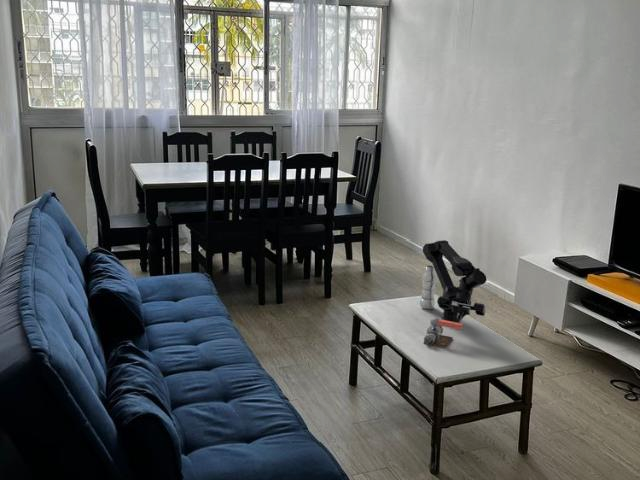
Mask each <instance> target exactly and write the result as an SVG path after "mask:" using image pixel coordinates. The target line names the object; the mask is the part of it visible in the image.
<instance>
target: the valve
mask: <svg viewBox="0 0 640 480" xmlns="http://www.w3.org/2000/svg"><path fill="white" fill-rule="evenodd" d="M443 332H444V328H443V326H439V325H438V326H433V325H430V326H429V327H428V328H427V330H426V335H425V336H424V338H423V344H424V345H426V346H427V345H428V346H432V347H437V348H443V349H447V347H448V346H449V345H450V343H451V342H452V340H453V336H449V335H443Z"/></svg>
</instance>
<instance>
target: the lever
mask: <svg viewBox="0 0 640 480" xmlns="http://www.w3.org/2000/svg"><path fill="white" fill-rule="evenodd" d="M432 325H433V326H438V325H439V326H441V327H442V328H443V327H444V328H450V329H455V330H459V331H462V330H463V323H461V322H460V323H456V322H451V321H446V320H442V318H441V319H440V318H439V317H436V316H433V317H432V316H431V318H430V326H432Z"/></svg>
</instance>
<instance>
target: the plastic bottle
mask: <svg viewBox="0 0 640 480" xmlns="http://www.w3.org/2000/svg"><path fill="white" fill-rule="evenodd" d="M421 278H422V279H421V282H422V292H421V298H420V303H419V304H420V305H419V306H420V307H421V309H426V310H432V309H433V308H434V307H435V304H436V302H435V289H436V283H437V279H438V276H437V274H436V272H435V269H434V266H433V265H429V264H428V265H426V266H425V272H424V273H423V275H422V277H421Z"/></svg>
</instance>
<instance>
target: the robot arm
mask: <svg viewBox="0 0 640 480" xmlns="http://www.w3.org/2000/svg"><path fill="white" fill-rule="evenodd" d="M422 253H423V255H424V256H425V258H426V260H428V261H429V262H430V263H431V264H432V266H434V272H435V274H436V277H437V279H438V280H439V283H440V285H441V288H442V296H439V297H438V298H437V300H436V302H437V305H438V307H439V308H440V309H441V310H443V314H442V315H443V316H441V320H446V321H451V322H456V323H461V321H462V320H463V318H464V317H465V316H469V315H470V314H471V311H474V312H475V314H476V316H477V315H478V316H484V317H485V315H486V306H485V304H483V303H479V302H474V304H472V295H473V291H474V289H476V288H479V287H480V286H482V285H484V284H486V282H487V276H486V274H485V273H484V272H483V271H481V270H480V268H478V267H477V268H476V267H475V266H474V265H473V263H472V262H471V261H470V260H468V259H467V258H465V257H462V256H460V255H459V254H458V253H457V251H456V250H455V249H454V248H453V247H452V246H451V245H450V244H449V241H448V240H444V239H443V240H437V241H434V242H431V243H430V242H429V243H424V246H423V247H422ZM443 257H444V258H445V259H446V260H447V261H448V262H449V264H450V265H451V270H452V272H453V274H454V275H455V276H456V277H461V279H459V284H458V285H459V286H455V284H454V282H453V280H452V278H451V276H450V275H451V274H450V273H449V270H448V268H447V266H446V264H445V261H444V259H443Z"/></svg>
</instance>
